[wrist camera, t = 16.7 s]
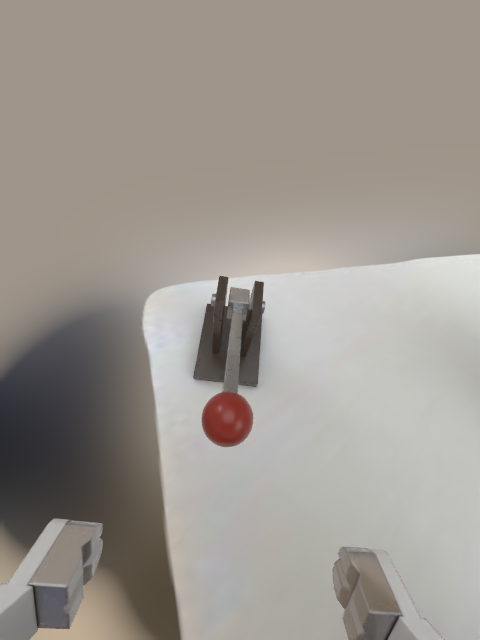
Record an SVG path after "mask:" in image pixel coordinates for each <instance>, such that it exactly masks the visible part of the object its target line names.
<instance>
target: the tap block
mask: <svg viewBox="0 0 480 640" xmlns="http://www.w3.org/2000/svg"><path fill="white" fill-rule="evenodd" d="M227 285H228V277H224V276H220V277H219V282H218V288H217V294H213V295H212V300H211V304H207V308H206V313H205V319H204V324H203V329H202V334H201V340H200V345H199V350H198V355H197V361H196V366H195V371H194V379H199V380H207V381H215V382H223V383H224V377H225V368H226V360H227V351H228V343H229V335H230V326H231V319H229V318H226V317H227V310H228V306H225V303H226V294H227ZM263 285H264V282H258V281H255V283H254V287H253V290H252V294H251V298H250V302H249V307H248V312H247V317H246V321H244V320H242V332H241V348H240V363H239V379H238V384H239V385H246V386H254V387H256V386H257V384H258V370H259V354H260V338H261V322H262V314H263V313H264V310H265V301H263Z"/></svg>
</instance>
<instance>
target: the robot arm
mask: <svg viewBox="0 0 480 640" xmlns="http://www.w3.org/2000/svg"><path fill="white" fill-rule="evenodd" d="M101 533H102V523H92V522H82V521H81V522H80V521H72V520H65V519H53V520H52V521H51V522H50V523H49V524H48V525H47V526H46V528H45V529H44V531H43V532H42V533H41V535H40V536H39V538H38V539H37V541H36V542H35V544H34V545H33V547H32V548H31V550H30V551H29V553H28V554H27V555H26V557H25V558H24V560H23V561H22V563H21V564H20V566H19V567H18V568H17V570H16V572H15V573H14V574H13V576H12V577H11V579H10V580H9V582H8V583H2V584H0V640H29V639H30V638H31V637H32V636H33V635H34V634H35V633H36V632H37V630H38V628H56V629H70V627H71V624H72V622H73V620H74V617H75V615H76V613H77V611H78V609H79V606H80V604H81V602H82V599H83V586H84V585H85V584H86V583H87V582H88V581H89V580H90V579H91V578H92V577H93V574H94V572H95V570H96V567H97V565H98V562H99V558H100V555H101V551H102V542H103V541H102V539H101V538H100V535H101ZM338 554H339V557H340V559H339V560H337V561H336V562H335V563H334V567H333V584H334V589H335V593H336V597H337V599H338V601H339V602H340V604H341V605H342V606H343V608H344V615H343V621H344V625H345V628H346V632H347V635H348V639H349V640H445V639H444V638H443V637H442V636H441V635H440V634H439V633H438V632H437V631H436V630H435V629H434V627H433V626H432V625H431V624H430V623H429V622H428V621H427V620H426V619H425V618H421V617H420V615H419V613H418V611H417V610H416V608H415V606H414V604H413V602H412V600H411V598H410V596H409V594H408V592H407V590H406V588H405V586H404V584H403V582H402V580H401V578H400V576H399V574H398V572H397V570H396V568H395V566H394V564H393V562H392V560H391V558H390V556H389V554H388V553H387V552H386V551H383V550H375V549H367V548H354V547H342V548H340V550H339V553H338Z"/></svg>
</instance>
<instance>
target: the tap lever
mask: <svg viewBox="0 0 480 640" xmlns="http://www.w3.org/2000/svg"><path fill="white" fill-rule="evenodd" d="M249 291H250V290H246V289H239V288H232V287H231V289H230V295H229V302H228V310H227V317H226V318H229V319H231V326H230V335H229V343H228V351H227V360H226V368H225V377H224V385H223V392H222V393H219V394H217V395H215V396H214V397H212V398H211V399H210V400H209V401H208V402H207V404H206V406H205V407H204V410H203V413H202V427H203V430H204V432H205V434H206V436H207V437H208V438H209V440H210V441H212V442H213V443H214V444H216V445H219V446H222V447H232V446H235V445H238V444H240V443H241V442H242V441H244V440H245V439H246V438H247V436H248V435H249V433H250V431H251V429H252V425H253V413H252V409H251V407H250V405H249V403H248V402H247V401H246V399H245V398H243V397H242V396H241V395H239V394H238V379H239V363H240V348H241V332H242V320H244V321H246V317H247V312H248V307H249Z"/></svg>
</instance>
